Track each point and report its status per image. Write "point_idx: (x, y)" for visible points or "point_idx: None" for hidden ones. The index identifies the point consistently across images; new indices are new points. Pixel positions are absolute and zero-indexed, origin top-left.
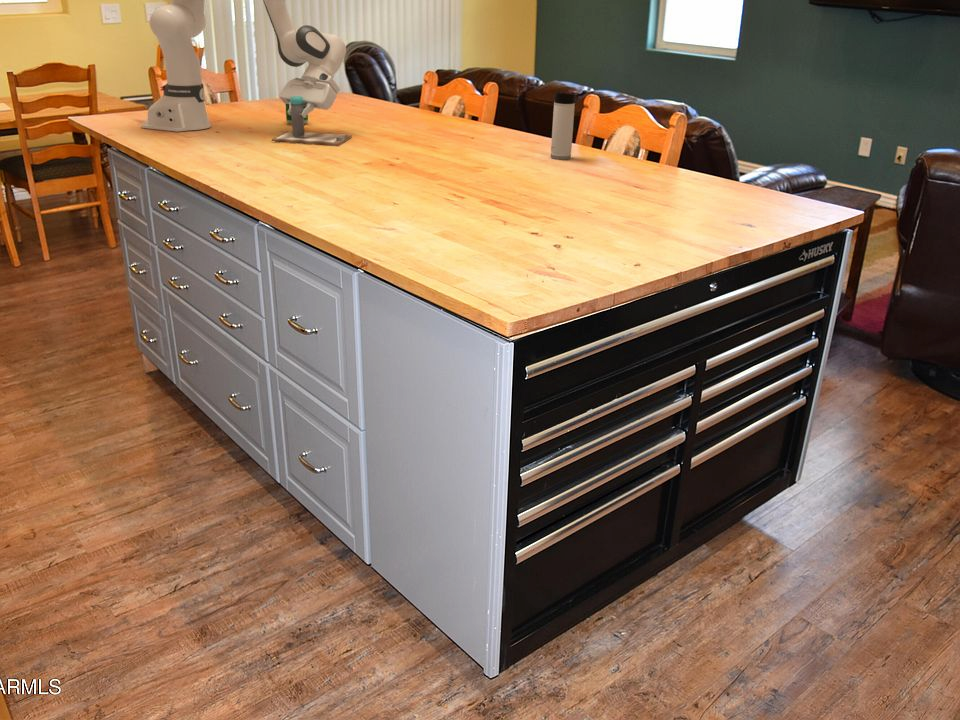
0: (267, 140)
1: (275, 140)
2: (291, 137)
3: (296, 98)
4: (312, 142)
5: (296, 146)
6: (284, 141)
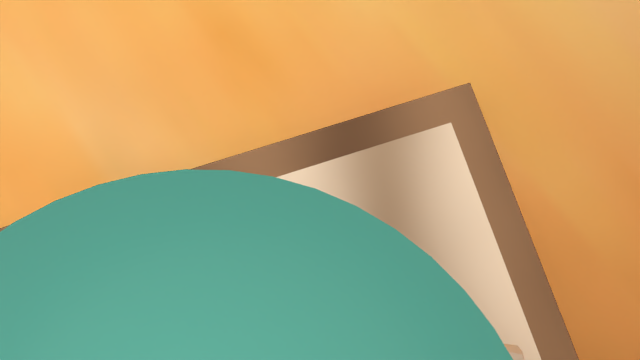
0: (557, 134)
1: (427, 99)
2: None
3: (16, 243)
4: None
5: (120, 59)
6: (330, 131)
